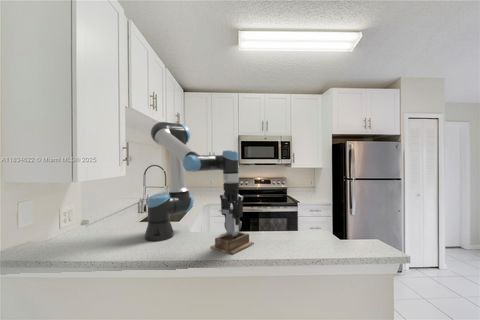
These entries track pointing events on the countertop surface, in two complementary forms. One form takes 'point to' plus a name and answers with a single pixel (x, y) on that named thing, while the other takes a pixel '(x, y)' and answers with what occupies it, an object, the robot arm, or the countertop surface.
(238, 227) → the mortar and pestle
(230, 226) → the bracket
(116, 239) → the countertop surface
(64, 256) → the countertop surface
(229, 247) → the wooden box
